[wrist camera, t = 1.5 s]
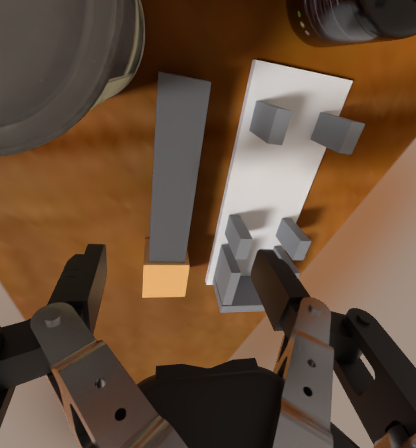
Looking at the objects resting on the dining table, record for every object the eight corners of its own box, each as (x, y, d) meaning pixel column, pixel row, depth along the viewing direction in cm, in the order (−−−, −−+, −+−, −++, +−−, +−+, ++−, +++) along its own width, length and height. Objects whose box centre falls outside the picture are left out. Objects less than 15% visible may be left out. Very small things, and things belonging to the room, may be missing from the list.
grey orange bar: (152, 70, 19) (151, 71, 16) (207, 80, 20) (219, 83, 17) (144, 268, 29) (142, 297, 26) (181, 268, 30) (184, 296, 27)
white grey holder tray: (252, 59, 20) (281, 58, 15) (347, 80, 22) (397, 84, 18) (205, 280, 32) (213, 315, 28) (269, 280, 34) (286, 313, 30)
